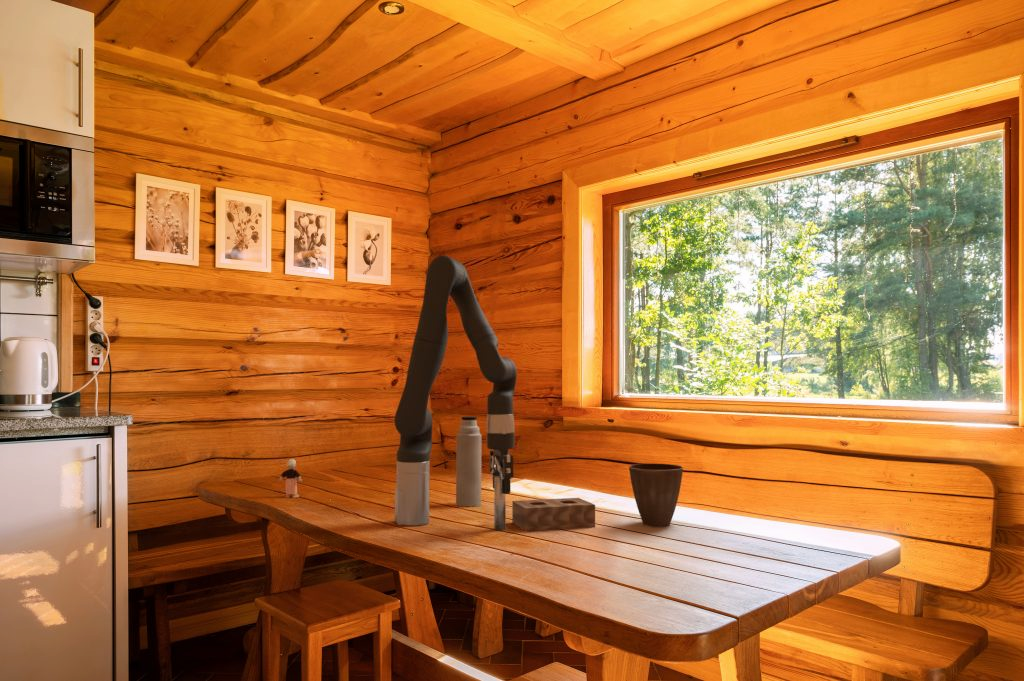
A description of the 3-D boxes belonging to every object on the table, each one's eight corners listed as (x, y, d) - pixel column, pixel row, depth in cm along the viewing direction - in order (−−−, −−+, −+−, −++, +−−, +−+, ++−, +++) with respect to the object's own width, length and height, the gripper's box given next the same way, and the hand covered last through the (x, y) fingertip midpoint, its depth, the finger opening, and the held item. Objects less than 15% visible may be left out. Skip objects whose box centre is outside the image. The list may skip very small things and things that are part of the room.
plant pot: (659, 531, 200) (659, 471, 200) (617, 523, 211) (617, 465, 212) (694, 524, 209) (694, 467, 210) (652, 516, 221) (652, 462, 221)
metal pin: (496, 530, 200) (496, 477, 201) (492, 528, 203) (493, 476, 204) (506, 530, 201) (507, 477, 202) (503, 527, 204) (503, 475, 204)
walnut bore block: (525, 531, 200) (525, 507, 200) (512, 522, 211) (512, 500, 212) (595, 526, 206) (595, 504, 206) (578, 518, 217) (578, 497, 218)
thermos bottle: (458, 502, 244) (459, 415, 245) (482, 502, 243) (483, 416, 244) (454, 506, 236) (454, 417, 237) (479, 507, 235) (479, 417, 236)
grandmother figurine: (303, 495, 255) (303, 458, 256) (300, 497, 251) (301, 459, 252) (280, 496, 255) (280, 458, 255) (277, 497, 251) (278, 459, 252)
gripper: (480, 429, 209) (481, 488, 208) (494, 433, 195) (495, 496, 195) (506, 428, 211) (506, 486, 210) (522, 432, 198) (523, 494, 197)
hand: (501, 491), depth 203 cm, fingers open, 8 cm apart
